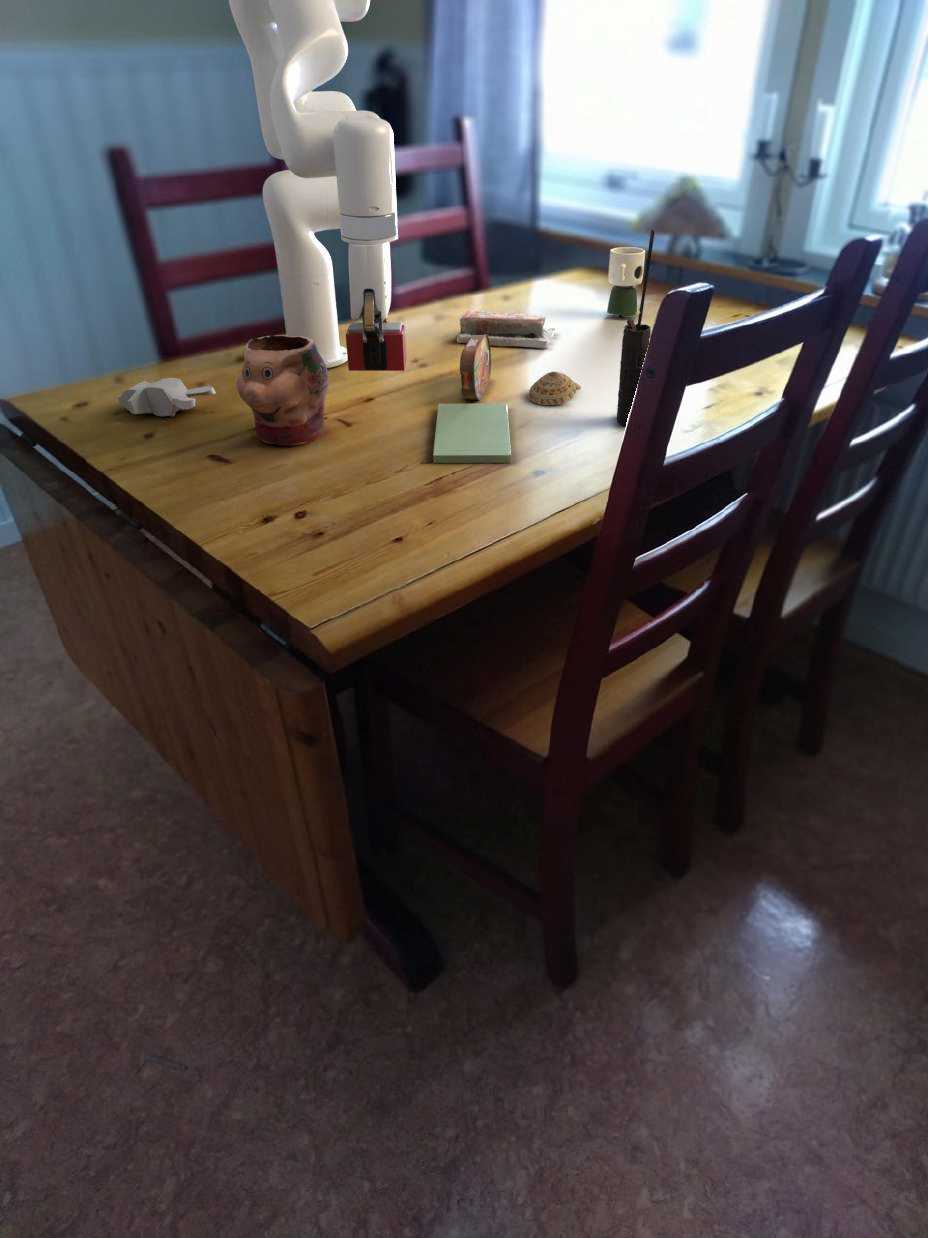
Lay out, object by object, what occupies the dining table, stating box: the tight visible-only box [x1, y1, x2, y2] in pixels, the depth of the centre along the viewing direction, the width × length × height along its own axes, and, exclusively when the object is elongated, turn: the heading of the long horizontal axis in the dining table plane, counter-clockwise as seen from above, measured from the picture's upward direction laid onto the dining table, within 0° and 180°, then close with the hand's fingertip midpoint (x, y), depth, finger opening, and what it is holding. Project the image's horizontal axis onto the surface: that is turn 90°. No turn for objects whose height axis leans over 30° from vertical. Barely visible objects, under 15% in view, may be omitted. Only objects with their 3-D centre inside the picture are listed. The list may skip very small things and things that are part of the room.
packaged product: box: [456, 310, 556, 349], centre depth 166 cm, size 18×5×10 cm
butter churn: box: [616, 229, 655, 428], centre depth 125 cm, size 9×10×28 cm
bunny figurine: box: [117, 377, 217, 418], centre depth 136 cm, size 10×5×15 cm
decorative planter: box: [236, 334, 330, 446], centre depth 127 cm, size 20×12×14 cm, turn 168°
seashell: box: [527, 371, 582, 406], centre depth 141 cm, size 8×6×8 cm
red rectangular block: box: [345, 322, 407, 372], centre depth 121 cm, size 4×8×6 cm, turn 89°
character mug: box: [606, 246, 646, 318], centre depth 177 cm, size 11×7×13 cm, turn 161°
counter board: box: [432, 403, 512, 464], centre depth 128 cm, size 11×20×1 cm, turn 179°
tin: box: [459, 334, 492, 401], centre depth 142 cm, size 15×3×8 cm, turn 168°
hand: (377, 361), depth 123 cm, fingers closed on red rectangular block, 4 cm apart
